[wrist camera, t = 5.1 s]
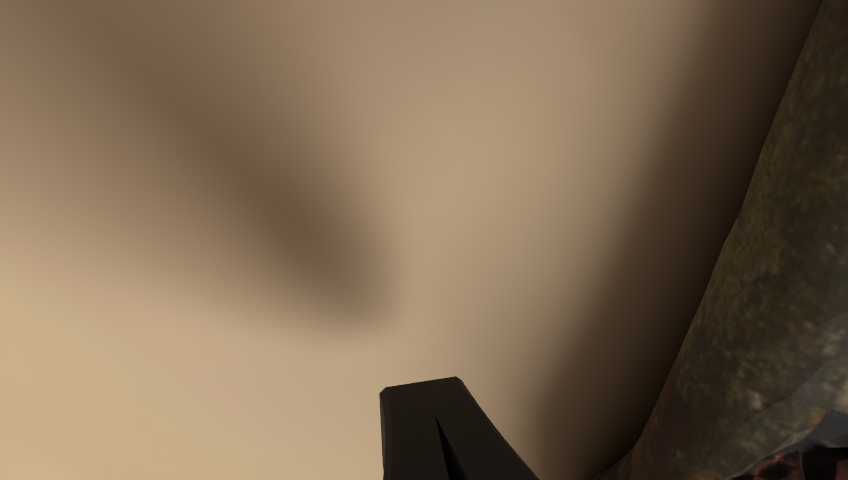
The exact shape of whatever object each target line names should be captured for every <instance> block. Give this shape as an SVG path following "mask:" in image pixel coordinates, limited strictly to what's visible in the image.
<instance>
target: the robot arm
mask: <svg viewBox="0 0 848 480" xmlns="http://www.w3.org/2000/svg"><path fill="white" fill-rule="evenodd" d="M380 414H381V435H382V456H383V469H384V476H383V480H539V479H538V477H537V476H536V475H535V474H534V473H533V472H532V471H531V470H530V468H529V467H528V466H527V465H526V464H525V463H524V461H523V460H522V459H521V458H520V457H519V456H518V454H517V453H516V452H515V451H514V450H513V449H512V447H511V446H510V445H509V444H508V443H507V441H506V440H505V439H504V438H503V436H502V435H501V434H500V433H499V431H498V430H497V429H496V427H495V426H494V425H493V424H492V422H491V421H490V420H489V418H488V417H487V416H486V414H485V413H484V412H483V410H482V409H481V408H480V406H479V405H478V404H477V402H476V401H475V399H474V398H473V396H472V395H471V394H470V392H469V391H468V389H467V388H466V386H465V385H464V383H463V382H462V380H460V379H459V378H457V377H449V378H443V379H436V380H430V381H424V382H417V383H411V384H404V385H398V386H392V387H386V388H385V389H384V390H383V391H382V392H380Z"/></svg>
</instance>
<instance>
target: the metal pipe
mask: <svg viewBox="0 0 848 480" xmlns="http://www.w3.org/2000/svg"><path fill="white" fill-rule="evenodd" d="M592 480H848V0H823V1H822V3H821V6H820V8H819V10H818V13H817V15H816V18H815V20H814V23H813V25H812V27H811V30H810V32H809V35H808V37H807V39H806V42H805V44H804V47H803V49H802V52H801V54H800V56H799V59H798V61H797V64H796V66H795V69H794V71H793V74H792V76H791V78H790V81H789V83H788V86H787V88H786V91H785V93H784V96H783V98H782V101H781V103H780V106H779V108H778V111H777V113H776V116H775V118H774V120H773V123H772V125H771V128H770V130H769V133H768V135H767V138H766V140H765V143H764V145H763V148H762V151H761V154H760V157H759V160H758V162H757V165H756V168H755V171H754V174H753V177H752V180H751V182H750V185H749V188H748V191H747V194H746V197H745V200H744V202H743V205H742V208H741V211H740V213H739V215H738V217H737V219H736V221H735V223H734V225H733V227H732V229H731V231H730V233H729V235H728V237H727V239H726V241H725V243H724V245H723V248H722V250H721V253H720V255H719V258H718V260H717V263H716V265H715V268H714V271H713V273H712V276H711V278H710V281H709V283H708V286H707V288H706V291H705V293H704V296H703V298H702V300H701V303H700V305H699V307H698V310H697V312H696V314H695V316H694V319H693V321H692V323H691V326H690V328H689V330H688V333H687V335H686V337H685V339H684V342H683V344H682V346H681V349H680V351H679V353H678V355H677V358H676V360H675V362H674V364H673V367H672V369H671V371H670V373H669V376H668V378H667V380H666V382H665V385H664V387H663V389H662V392H661V394H660V396H659V398H658V401H657V403H656V405H655V407H654V410H653V412H652V414H651V416H650V418H649V420H648V422H647V424H646V426H645V428H644V430H643V432H642V434H641V436H640V438H639V440H638V441H637V443H636V444H635V446H634V447H633V448H632V449H631V450H629V451H628V453H627V454H626V455H625V457H623V458H622V459H621V460H620V461H618V462H617V463H616V464H614V465H613V466H611V467H610V468H608V469H606V470H605V471H603V472H602V473H600V474H599V475H597V476H596V477H595V478H593V479H592Z"/></svg>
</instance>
